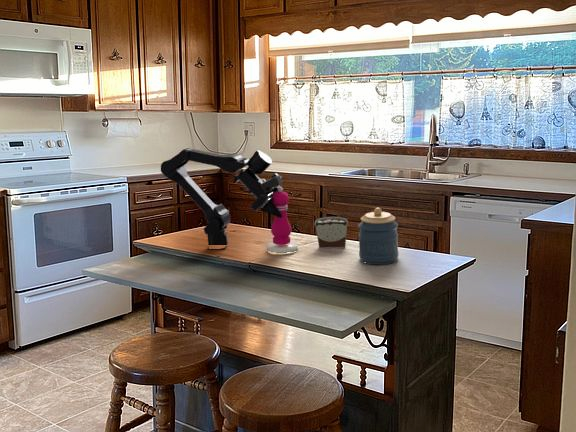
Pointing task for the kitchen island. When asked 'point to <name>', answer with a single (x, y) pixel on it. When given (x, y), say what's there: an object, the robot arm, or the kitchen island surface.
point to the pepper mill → (281, 219)
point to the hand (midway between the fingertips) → (284, 215)
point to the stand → (282, 247)
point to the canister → (378, 238)
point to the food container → (331, 232)
